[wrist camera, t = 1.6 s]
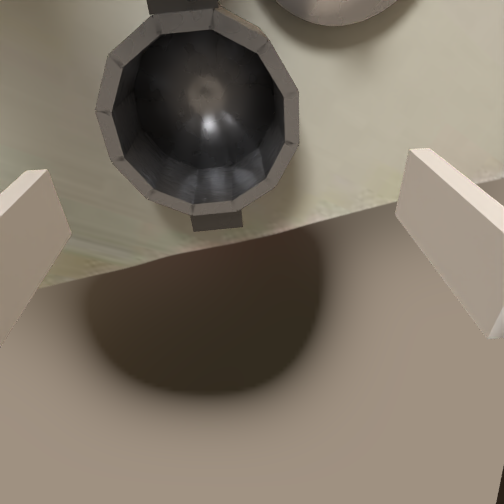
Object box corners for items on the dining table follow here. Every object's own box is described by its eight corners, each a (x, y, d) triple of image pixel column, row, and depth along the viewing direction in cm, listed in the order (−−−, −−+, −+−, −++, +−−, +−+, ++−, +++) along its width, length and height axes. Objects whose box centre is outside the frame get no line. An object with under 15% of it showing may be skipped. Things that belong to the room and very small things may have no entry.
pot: (93, -18, 32) (53, -20, 25) (281, -37, 32) (298, -44, 24) (151, 200, 44) (136, 242, 37) (287, 186, 44) (299, 226, 37)
